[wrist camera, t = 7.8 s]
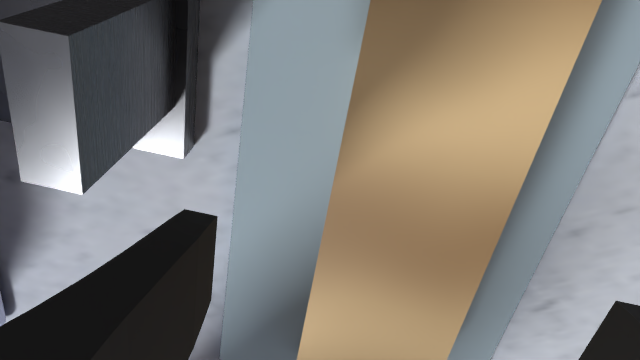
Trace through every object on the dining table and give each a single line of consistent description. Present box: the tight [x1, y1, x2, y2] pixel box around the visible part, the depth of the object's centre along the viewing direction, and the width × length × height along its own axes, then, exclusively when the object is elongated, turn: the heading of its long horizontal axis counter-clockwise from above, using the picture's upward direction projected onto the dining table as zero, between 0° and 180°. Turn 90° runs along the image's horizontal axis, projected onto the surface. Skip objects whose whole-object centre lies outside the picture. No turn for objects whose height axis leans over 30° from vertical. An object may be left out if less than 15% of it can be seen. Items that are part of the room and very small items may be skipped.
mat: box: [219, 0, 640, 360], centre depth 14 cm, size 20×9×1 cm, turn 170°
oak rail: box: [297, 0, 602, 360], centre depth 12 cm, size 16×4×4 cm, turn 171°
